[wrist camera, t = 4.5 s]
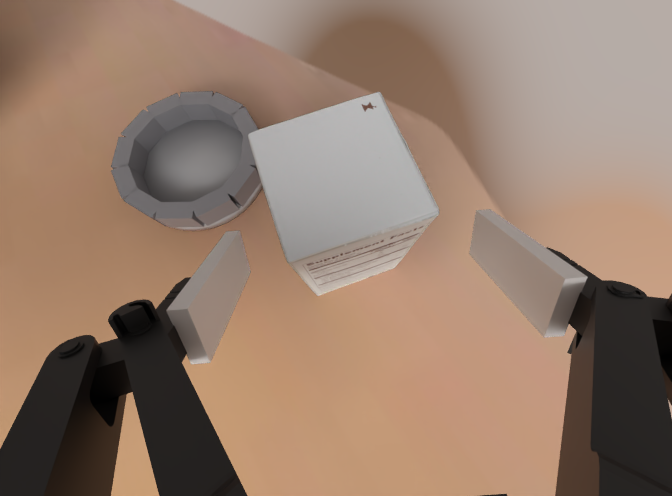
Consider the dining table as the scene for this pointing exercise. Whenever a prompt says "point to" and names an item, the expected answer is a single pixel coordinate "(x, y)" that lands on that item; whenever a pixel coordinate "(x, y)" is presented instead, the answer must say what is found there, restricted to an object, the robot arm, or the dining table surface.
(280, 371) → the dining table surface
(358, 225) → the supplement box
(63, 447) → the robot arm
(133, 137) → the round holder
